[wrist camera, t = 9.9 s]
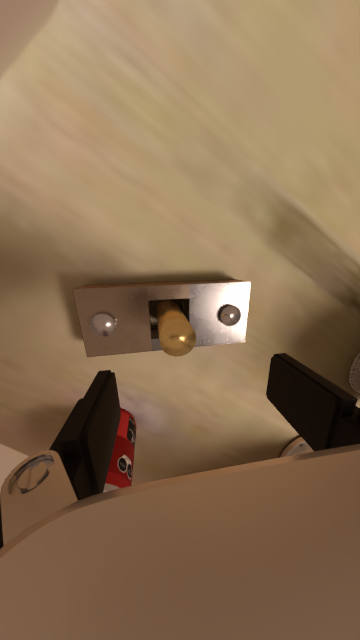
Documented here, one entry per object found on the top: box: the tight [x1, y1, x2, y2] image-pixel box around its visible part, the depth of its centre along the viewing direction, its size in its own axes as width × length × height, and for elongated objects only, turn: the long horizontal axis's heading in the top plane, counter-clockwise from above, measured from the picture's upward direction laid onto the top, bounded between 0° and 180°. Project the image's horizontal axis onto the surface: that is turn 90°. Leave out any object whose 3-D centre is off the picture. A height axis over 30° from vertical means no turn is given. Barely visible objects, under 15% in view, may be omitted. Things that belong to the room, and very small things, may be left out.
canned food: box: [103, 408, 136, 493], centre depth 23 cm, size 8×8×11 cm
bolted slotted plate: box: [73, 279, 251, 357], centre depth 22 cm, size 20×8×5 cm, turn 91°
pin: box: [156, 300, 196, 356], centre depth 19 cm, size 3×3×10 cm
